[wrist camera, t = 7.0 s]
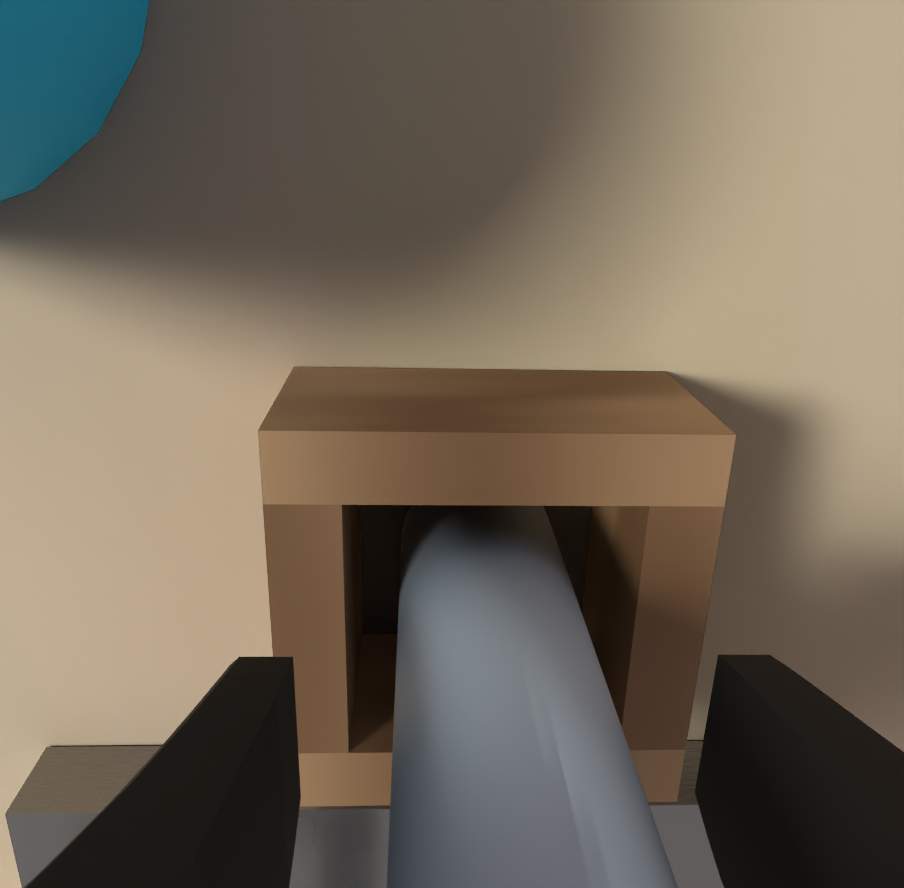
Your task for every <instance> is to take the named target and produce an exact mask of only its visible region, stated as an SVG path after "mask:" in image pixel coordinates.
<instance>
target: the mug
mask: <svg viewBox="0 0 904 888" xmlns="http://www.w3.org/2000/svg"><path fill="white" fill-rule="evenodd" d="M148 5H149V0H0V201H3V200H6V199H8V198H11V197H14V196H16V195H19V194H22V193H25V192H27V191H30V190H33V189H35V188H36V187H37V186H39V185H40V184H41V183H42V182H43V181H44V180H45V179H46V178H48V177H49V176H50V175H51V174H52V173H53V172H54V171H55V170H57V169H58V168H59V167H60V166H61V165H62V164H63V163H65V162H66V161H67V160H68V159H69V158H70V157H71V156H72V155H74V154H75V153H76V152H77V151H78V150H79V149H80V148H81V147H83V146H84V145H85V144H86V143H87V142H88V141H89V140H91V139H92V138H93V137H94V136H95V135H96V134H97V133H98V132H99V130H100V128H101V127H102V125H103V123H104V121H105V119H106V117H107V115H108V113H109V111H110V109H111V108H112V106H113V104H114V102H115V100H116V98H117V96H118V94H119V92H120V90H121V89H122V87H123V85H124V83H125V81H126V79H127V77H128V75H129V73H130V71H131V70H132V68H133V66H134V64H135V62H136V60H137V58H138V56H139V54H140V52H141V48H142V42H143V35H144V29H145V23H146V17H147V11H148Z"/></svg>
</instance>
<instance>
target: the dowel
mask: <svg viewBox="0 0 904 888" xmlns="http://www.w3.org/2000/svg"><path fill="white" fill-rule="evenodd" d="M387 888H678V886H677V883H676V881H675V878H674V875H673V872H672V869H671V866H670V863H669V861H668V858H667V855H666V852H665V849H664V846H663V843H662V841H661V838H660V835H659V832H658V829H657V826H656V824H655V821H654V818H653V815H652V812H651V809H650V806H649V804H648V801H647V798H646V795H645V792H644V789H643V786H642V784H641V781H640V778H639V775H638V772H637V769H636V766H635V764H634V761H633V758H632V755H631V752H630V749H629V746H628V744H627V741H626V738H625V735H624V732H623V729H622V726H621V724H620V721H619V718H618V715H617V712H616V709H615V707H614V704H613V701H612V698H611V695H610V692H609V689H608V687H607V684H606V681H605V678H604V675H603V672H602V669H601V667H600V664H599V661H598V658H597V655H596V652H595V649H594V647H593V644H592V641H591V638H590V635H589V632H588V629H587V627H586V624H585V621H584V618H583V615H582V612H581V610H580V607H579V604H578V601H577V598H576V595H575V592H574V590H573V587H572V584H571V581H570V578H569V575H568V572H567V570H566V567H565V564H564V561H563V558H562V555H561V552H560V550H559V547H558V544H557V541H556V538H555V535H554V532H553V530H552V527H551V524H550V521H549V518H548V515H547V513H546V510H545V508H544V506H502V505H411V507H410V508H409V510H408V513H407V515H406V517H405V521H404V524H403V530H402V543H401V566H400V590H399V613H398V636H397V659H396V682H395V706H394V729H393V752H392V775H391V798H390V822H389V845H388V868H387Z"/></svg>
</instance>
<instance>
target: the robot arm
mask: <svg viewBox="0 0 904 888" xmlns="http://www.w3.org/2000/svg"><path fill="white" fill-rule="evenodd" d="M695 795H696V799H697V802H698V806H699V809H700V813H701V816H702V820H703V823H704V827H705V830H706V834H707V837H708V840H709V844H710V847H711V850H712V853H713V856H714V859H715V863H716V866H717V869H718V872H719V875H720V879H721V881H722V884H723V886H724V888H904V752H903V751H901V750H900V749H899V748H897V747H896V746H895V745H893V744H892V743H890V742H889V741H888V740H886V739H885V738H884V737H882V736H881V735H880V734H878V733H877V732H876V731H874V730H873V729H871V728H870V727H869V726H867V725H866V724H865V723H863V722H862V721H861V720H859V719H858V718H857V717H855V716H854V715H853V714H851V713H850V712H849V711H847V710H846V709H845V708H843V707H842V706H841V705H839V704H838V703H837V702H835V701H834V700H833V699H831V698H830V697H828V696H827V695H826V694H824V693H823V692H822V691H820V690H819V689H818V688H816V687H815V686H814V685H812V684H811V683H809V682H808V681H807V680H805V679H804V678H803V677H801V676H800V675H798V674H797V673H796V672H794V671H793V670H791V669H790V668H789V667H787V666H786V665H784V664H783V663H781V662H780V661H778V660H777V659H775V658H774V657H772V656H770V655H718V659H717V665H716V670H715V676H714V682H713V688H712V694H711V700H710V705H709V711H708V717H707V723H706V729H705V735H704V740H703V746H702V752H701V758H700V764H699V770H698V775H697V781H696V787H695ZM300 800H301V790H300V772H299V754H298V736H297V718H296V701H295V683H294V665H293V657H239V658H238V659H237V660H235V661H234V662H233V663H232V664H231V665H230V666H229V667H228V668H227V670H226V671H225V672H224V673H223V674H222V676H221V677H220V678H219V679H218V680H217V682H216V683H215V684H214V685H213V687H212V688H211V689H210V690H209V691H208V693H207V694H206V695H205V696H204V697H203V699H202V700H201V701H200V702H199V703H198V705H197V706H196V707H195V708H194V709H193V710H192V712H191V713H190V714H189V715H188V716H187V717H186V719H185V720H184V721H183V722H182V723H181V724H180V726H179V727H178V728H177V729H176V730H175V731H174V733H173V734H172V735H171V736H170V737H169V738H168V739H167V741H166V742H165V743H164V744H163V745H162V746H161V747H160V748H159V749H158V751H157V752H156V753H155V754H154V755H153V756H152V757H151V758H150V759H149V760H148V762H147V763H146V764H145V765H144V766H143V767H142V768H141V769H140V770H139V771H138V773H137V774H136V775H135V776H134V777H133V778H132V779H131V780H130V781H129V782H128V783H127V785H126V786H125V787H124V788H123V789H122V790H121V791H120V792H119V793H118V794H117V795H116V796H115V797H114V799H113V800H112V801H111V802H110V803H109V804H108V805H107V806H106V807H105V808H104V809H103V810H102V811H101V812H100V813H99V814H98V815H97V816H96V817H95V818H94V819H93V820H92V821H91V822H90V823H89V824H88V825H87V826H86V827H85V828H84V829H83V830H82V831H81V832H80V833H79V834H78V835H77V836H76V837H75V838H74V839H73V840H72V841H71V842H70V843H69V844H68V845H67V846H66V847H65V848H64V849H63V850H62V851H61V852H60V853H59V854H58V855H57V856H56V857H55V858H54V859H53V860H52V861H51V862H50V863H49V864H48V865H47V866H46V867H45V868H44V869H43V870H42V871H41V872H40V873H38V874H37V875H36V876H35V877H34V878H33V879H32V880H31V881H30V882H29V883H28V884H27V885H26V886H25V887H24V888H289V885H290V878H291V870H292V863H293V856H294V848H295V840H296V832H297V824H298V816H299V808H300Z"/></svg>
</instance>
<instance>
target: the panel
mask: <svg viewBox="0 0 904 888" xmlns="http://www.w3.org/2000/svg"><path fill="white" fill-rule="evenodd" d="M702 746H703V741H687V742H686V749H685V755H684V761H683V767H682V773H681V779H680V786H679V792H678V798H677V802H648V804H649V806H650V809H651V812H652V815H653V818H654V821H655V824H656V826H657V829H658V832H659V835H660V838H661V841H662V843H663V846H664V849H665V852H666V855H667V858H668V861H669V863H670V866H671V869H672V872H673V875H674V878H675V881H676V883H677V886H678V888H724V886H723V884H722V881H721V879H720V875H719V872H718V869H717V866H716V863H715V859H714V856H713V853H712V850H711V847H710V844H709V840H708V837H707V834H706V830H705V827H704V823H703V820H702V816H701V813H700V809H699V806H698V802H697V799H696V795H695V787H696V781H697V775H698V770H699V764H700V758H701V752H702ZM160 747H161V746H99V747H46V749H45V750H44V752H43V754H42V755H41V757H40V759H39V760H38V762H37V763H36V765H35V767H34V768H33V770H32V771H31V773H30V775H29V776H28V778H27V780H26V781H25V783H24V784H23V786H22V788H21V789H20V791H19V792H18V794H17V796H16V797H15V799H14V801H13V802H12V804H11V805H10V807H9V809H8V810H7V812H6V813H5V815H6V820H7V824H8V828H9V833H10V837H11V841H12V846H13V850H14V855H15V859H16V863H17V868H18V872H19V876H20V881H21V885H22V888H24V887H25V886H26V885H27V884H28V883H29V882H30V881H31V880H32V879H33V878H34V877H35V876H36V875H37V874H38V873H40V872H41V871H42V870H43V869H44V868H45V867H46V866H47V865H48V864H49V863H50V862H51V861H52V860H53V859H54V858H55V857H56V856H57V855H58V854H59V853H60V852H61V851H62V850H63V849H64V848H65V847H66V846H67V845H68V844H69V843H70V842H71V841H72V840H73V839H74V838H75V837H76V836H77V835H78V834H79V833H80V832H81V831H82V830H83V829H84V828H85V827H86V826H87V825H88V824H89V823H90V822H91V821H92V820H93V819H94V818H95V817H96V816H97V815H98V814H99V813H100V812H101V811H102V810H103V809H104V808H105V807H106V806H107V805H108V804H109V803H110V802H111V801H112V800H113V799H114V797H115V796H116V795H117V794H118V793H119V792H120V791H121V790H122V789H123V788H124V787H125V786H126V785H127V783H128V782H129V781H130V780H131V779H132V778H133V777H134V776H135V775H136V774H137V773H138V771H139V770H140V769H141V768H142V767H143V766H144V765H145V764H146V763H147V762H148V760H149V759H150V758H151V757H152V756H153V755H154V754H155V753H156V752H157V751H158V749H159V748H160ZM389 822H390V805H378V806H300V808H299V816H298V824H297V832H296V840H295V848H294V856H293V863H292V870H291V878H290V885H289V888H387V868H388V845H389Z"/></svg>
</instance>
